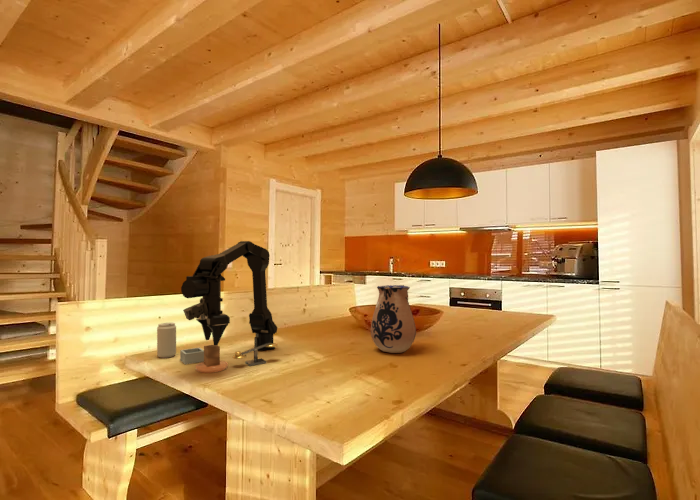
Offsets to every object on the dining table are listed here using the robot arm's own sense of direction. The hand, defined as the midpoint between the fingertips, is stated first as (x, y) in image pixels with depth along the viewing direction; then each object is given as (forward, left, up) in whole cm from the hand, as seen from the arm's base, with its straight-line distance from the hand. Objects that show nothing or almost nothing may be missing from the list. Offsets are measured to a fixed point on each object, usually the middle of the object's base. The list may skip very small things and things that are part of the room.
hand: (211, 342), depth 133 cm
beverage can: (+9, -25, -9) cm, 28 cm away
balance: (-14, +3, -8) cm, 17 cm away
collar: (+3, -13, -8) cm, 16 cm away
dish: (0, 0, -8) cm, 9 cm away
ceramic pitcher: (-66, +16, -9) cm, 69 cm away
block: (0, 0, -7) cm, 7 cm away
